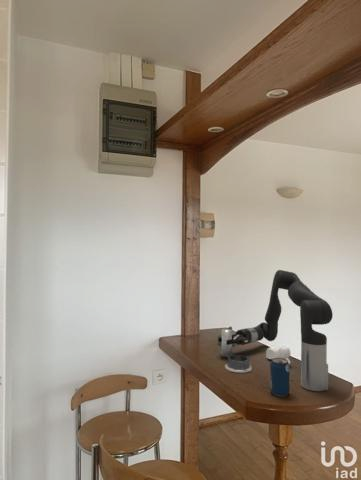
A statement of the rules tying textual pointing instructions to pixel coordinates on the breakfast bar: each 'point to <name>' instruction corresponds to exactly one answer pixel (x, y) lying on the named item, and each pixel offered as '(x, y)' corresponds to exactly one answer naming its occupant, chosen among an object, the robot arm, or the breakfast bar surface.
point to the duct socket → (238, 364)
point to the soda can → (279, 377)
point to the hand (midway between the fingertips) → (222, 341)
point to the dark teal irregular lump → (220, 336)
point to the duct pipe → (225, 335)
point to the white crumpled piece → (278, 352)
